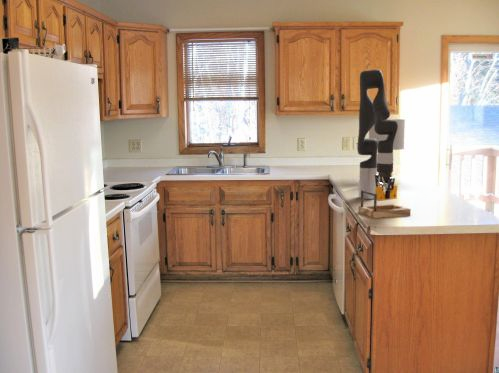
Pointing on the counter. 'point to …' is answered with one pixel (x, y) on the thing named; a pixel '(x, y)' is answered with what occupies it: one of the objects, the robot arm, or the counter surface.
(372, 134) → the lamp
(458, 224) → the counter surface
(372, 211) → the wooden tray
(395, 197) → the pipe clamp
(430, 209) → the counter surface
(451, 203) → the counter surface
